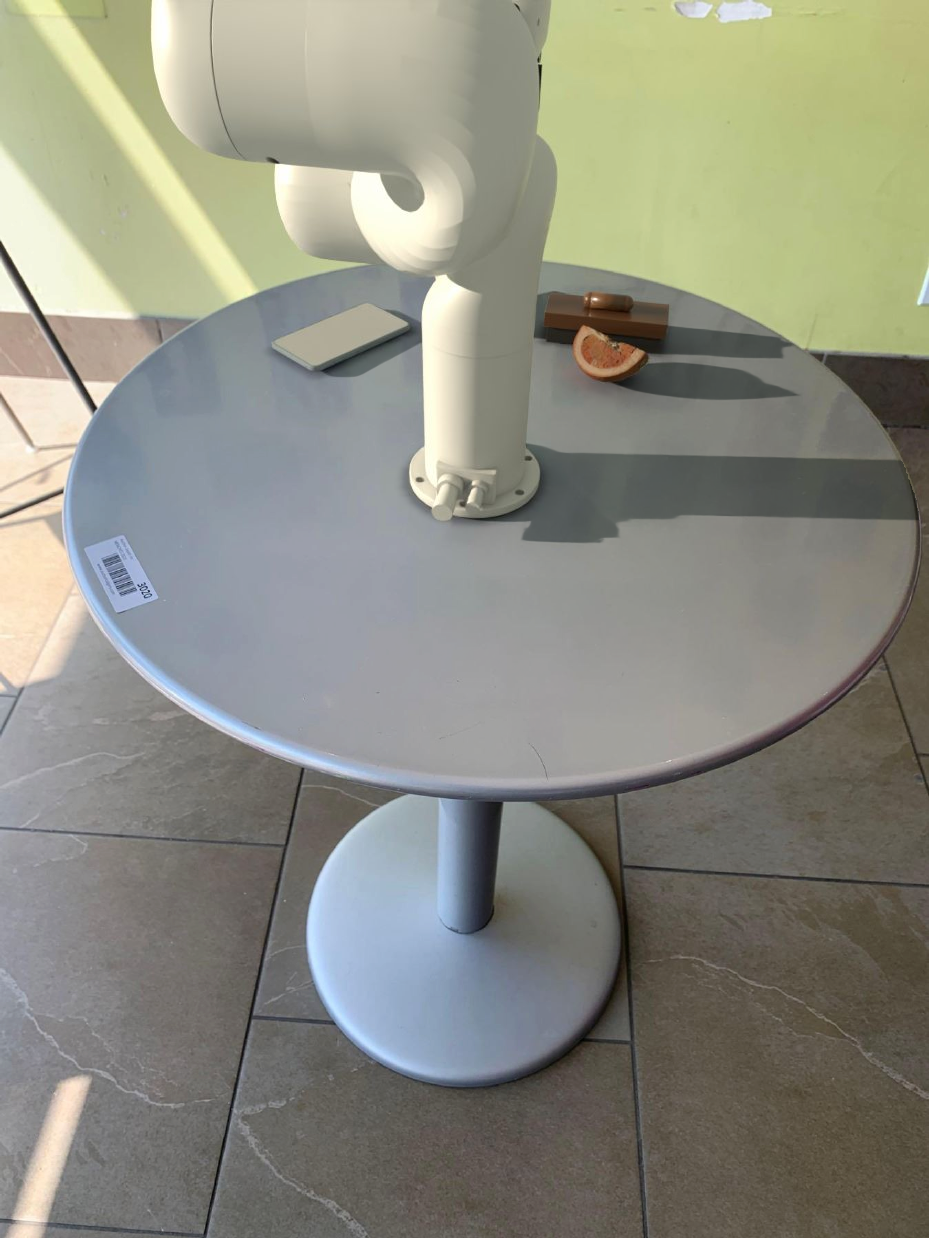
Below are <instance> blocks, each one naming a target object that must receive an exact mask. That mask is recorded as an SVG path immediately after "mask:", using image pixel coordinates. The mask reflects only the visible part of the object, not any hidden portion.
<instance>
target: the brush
mask: <svg viewBox="0 0 929 1238" xmlns="http://www.w3.org/2000/svg"><path fill="white" fill-rule="evenodd" d="M669 314H670V304H667V303H658V302H657V303H656V302H648V301H639V300H638V301H637V300H634V299H633V297H632V296H630V295H628V294H620V293H619V294H618V293H608V292H600V291H599V292H598V291H587V293H585V294H584V295H579V294H568V293H558V292H556V293H555V292H549V296H548V298H547V302H546V306H545V310H544V314H543V315H544V316H543V327H544V328H546V337H545V342H547V343H555V344H565V345H573V343H574V339H575V337H576V335H577V333H578V332H579V330H580V328H581V327H582V326H583V325H584V326H588V327H590V328H592V329H595V330H596V331H598V332H600V333H602V334H604V335H608V337H609V338H610V339H612V340H613V341H616V342H618V343H625V344H629V345H631V346H633V347H635V348H638V349H640V350H642V351H645V352H646V353H650V354H660V350H661V344H662V340H666V337H667V332H668V327H669Z"/></svg>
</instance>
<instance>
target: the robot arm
mask: <svg viewBox="0 0 929 1238" xmlns="http://www.w3.org/2000/svg"><path fill="white" fill-rule="evenodd" d="M551 9H552V0H151V14H150V17H151V18H150V42H151V43H150V44H151V54H152V62H153V63H152V64H153V71H154V75H155V80H156V84H157V88H158V91H159V95H160V98H161V100H162V103H163V105H164V108H165V110H166V112H167V114H168V116H169V117H170V119H171V121H172V122H173V124H174V125H175V126H176V128H177V129H178V131H179V132H180V133H181V134H182V135H183V136H184V137H185V138H186V139H187V140H188V141H189V142H191V143H192V144H194V145H195V146H196V147H198V148H200V149H201V150H203V151H205V152H207V153H210V154H213V155H216V156H218V157H222V158H225V159H231V160H235V161H236V160H237V161H242V162H251V163H258V164H259V163H260V164H261V163H262V164H272V165H274V193H275V199H276V205H277V209H278V213H279V217H280V219H281V222H282V224H283V226H284V228H285V230H286V231H285V232H286V233H287V234H288V236H289V238H290V239H291V241H292V242H293V243H294V244H295V246H296V247H297V248H298V249H299V250H300V251H302V253H305V254H306V255H308V256H311V257H314V258H317V259H320V260H321V259H322V260H328V261H336V262H344V263H353V264H354V263H355V264H365V265H374V266H375V265H376V266H386V267H392V268H393V269H394V270H397V271H399V272H401V273H404V274H406V275H409V276H414V277H420V278H430V277H435V276H439V277H438V278H437V279H436V278H435V281H433V283H432V285H431V286H430V288H429V289H428V292H427V294H426V295H425V299H424V301H423V306H422V310H421V342H422V344H421V345H422V346H421V347H422V381H423V382H422V383H423V385H422V386H423V387H422V389H423V426H424V428H423V429H424V431H423V432H424V445H423V446H422V447H421V448H420V449H419V450H418V451H417V452H416V453H415V454H414V456H413V457H412V459H411V461H410V464H409V471H408V472H409V473H408V475H409V484H410V486H411V489H412V491H413V492H414V495H416V496H417V498H418V499H419V500H420V501H422V502H423V503H424V504H425V505H426V506H428V507H430V508H431V516H432V517H433V519H436V520H437V521H440V522H449V521H450V520H451V519H452V518H453V517H459V518H466V519H487V518H492V517H499V516H502V515H505V514H509V513H511V512H513V511H516V510H517V509H519V508H521V507H523V506H524V505H526V504H527V503H528V502H530V500H531V499H532V498H533V497H535V494H536V492H537V491H538V489H539V486H540V479H541V478H540V477H541V468H540V465H539V462H538V460H537V459H536V457H535V455H534V454H533V453H532V452H531V451H530V450H529V449H528V448H527V446H526V445H527V434H528V433H527V432H528V421H529V420H528V419H529V405H530V394H531V392H530V391H531V381H532V380H531V378H532V365H533V351H534V350H533V349H534V335H535V329H536V328H535V327H536V313H537V303H538V302H537V301H538V291H539V284H540V276H541V270H542V269H541V268H542V264H543V259H544V253H545V248H546V243H547V239H548V234H549V230H550V226H551V221H552V217H553V214H554V213H553V211H554V208H555V203H556V197H557V192H558V191H557V190H558V167H557V166H558V165H557V160H556V156H555V154H554V152H553V150H552V148H551V146H550V145H549V144H548V142H547V141H546V140H545V139H544V138H543V137H541V136H540V135H539V134H538V124H539V112H540V105H541V103H540V102H541V91H542V90H541V87H542V76H543V75H542V74H543V64H541V60H542V51H543V48H544V46H545V44H546V43H547V38H548V34H549V25H550V20H551V19H550V18H551Z"/></svg>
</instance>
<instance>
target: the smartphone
mask: <svg viewBox="0 0 929 1238" xmlns="http://www.w3.org/2000/svg"><path fill="white" fill-rule="evenodd" d="M410 330H411V324H410V323H409V322H408V321H407V320H404V319H402V318H400V317H399V316H397V315H394V314H393V313H391V312H389V311H386V310H385V309H383V308H381V307H379V306H377V305H376V304H373V303H371V302H362V303H359V304H357V305H355V306H352V307H350V308H347V309H344V310H343V311H340V312H337V313H335V314H333V315H329V316H328V317H325V318H323V319H321V320H318V321H316V322H313V323H310V324H308V325H306V326H304V327H301V328H299V329H296V330H294V331H292V332H289V333H287V334H284V335H282V336H279V337H277V338H275V339H273V340H272V341H271V348H272V349H274V350H275V351H277V352H278V353H280V354H282V355H284V356H285V357H287V358H289V359H290V360H292V361H294V362H295V363H297V364H299V365H300V366H302V367H304V368H305V369H307V370H308V371H310V372H313V373H314V372H315V373H316V372H317V373H318V372H320V371H323V370H325V369H328V368H330V367H331V366H334V365H337V364H339V363H341V362H342V361H346V360H347V359H350V358H352V357H354V356H356V355H359V354H361V353H363V352H365V351H368V350H371V349H373V348H374V347H376V346H379V345H380V344H384V343H386V342H387V341H389V340H391V339H394V338H396V337H399V336H401V335H403V334H405V333H407V332H409V331H410Z"/></svg>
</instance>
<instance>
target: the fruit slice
mask: <svg viewBox="0 0 929 1238" xmlns="http://www.w3.org/2000/svg"><path fill="white" fill-rule="evenodd" d="M572 356H573V358H574V361H575V363H576V364H577V366H578V368H579V369H580V370H582V372H583V373H584V374H585V375H586V376H588V377H589V378H591V379H592V380H595V381H598V382H602V383H615V382H620V381H623V380H625V379H627V378H629V377H631V376H633V375H636V374H637V373H638V372H640V371H641V369H643V368H644V367H645V366H646V365H647V363H648V362H649V359H650V357H649V355H648V354H647V352H645V351H642V350H640V349H638V348H635V347H633V346H631V345H629V344H625V343H618V342H616V341H613V340H612V339H610V338H609V337H608V335H604V334H602V333H600V332H598V331H596V330H595V329H592V328H590V327H588V326H584V325H583V326H582V327H581V328H580V330H579V332H578V333H577V335H576V337H575V339H574V343H573V344H572Z"/></svg>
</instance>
